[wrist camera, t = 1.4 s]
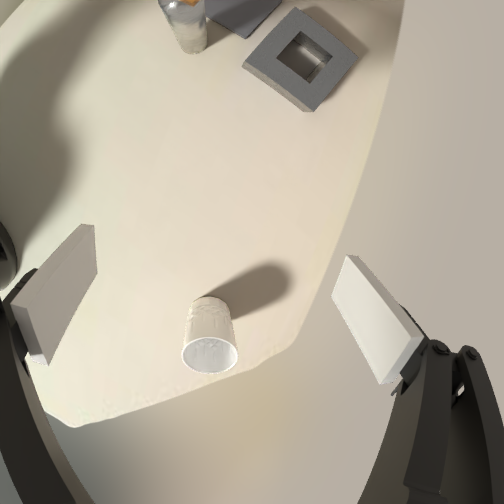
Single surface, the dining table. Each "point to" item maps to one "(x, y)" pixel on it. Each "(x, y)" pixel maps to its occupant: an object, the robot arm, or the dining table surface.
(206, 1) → the mat
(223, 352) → the white cup
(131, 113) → the dining table surface
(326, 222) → the dining table surface
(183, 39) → the grey long rod
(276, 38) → the block
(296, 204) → the dining table surface
